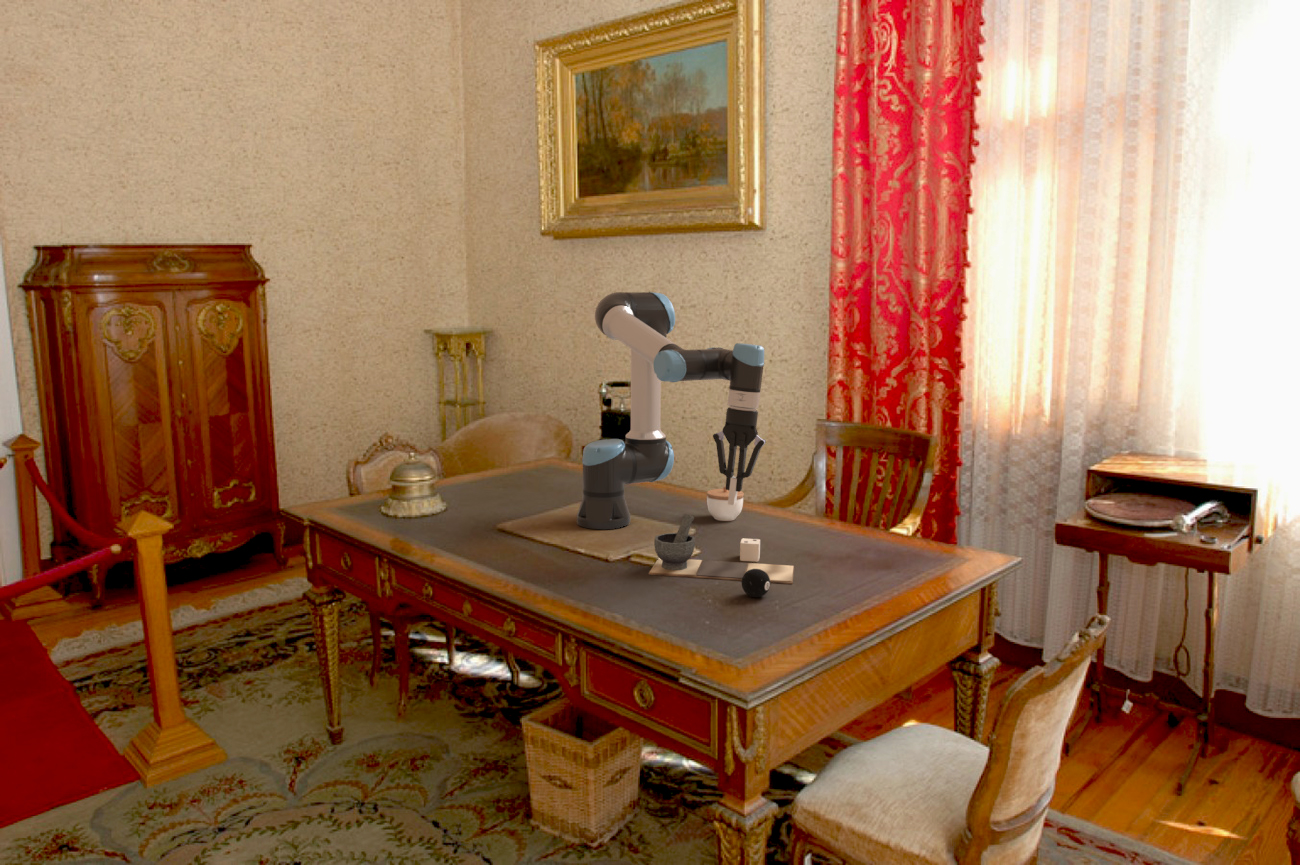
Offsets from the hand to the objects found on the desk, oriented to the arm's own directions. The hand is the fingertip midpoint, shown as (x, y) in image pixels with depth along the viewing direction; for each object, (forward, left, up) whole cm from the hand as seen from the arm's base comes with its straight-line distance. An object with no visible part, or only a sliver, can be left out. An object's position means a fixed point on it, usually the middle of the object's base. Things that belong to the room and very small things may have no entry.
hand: (731, 503), depth 221 cm
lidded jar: (-6, +40, -14) cm, 43 cm away
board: (-1, -11, -14) cm, 17 cm away
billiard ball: (+8, -27, -14) cm, 32 cm away
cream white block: (+5, +1, -14) cm, 15 cm away
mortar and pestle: (-12, -11, -13) cm, 21 cm away
